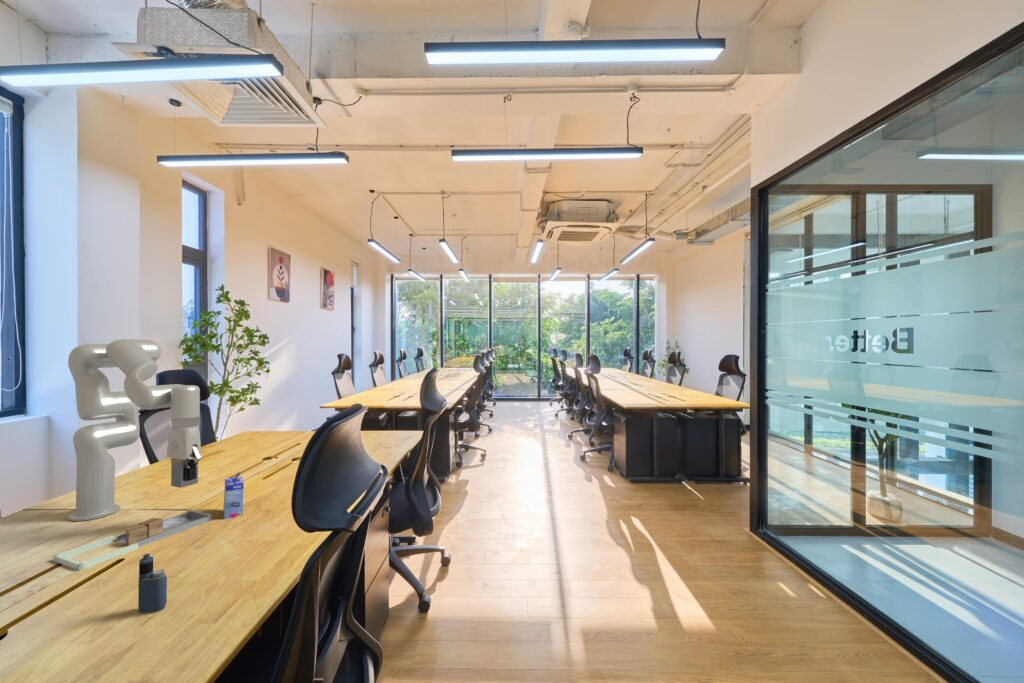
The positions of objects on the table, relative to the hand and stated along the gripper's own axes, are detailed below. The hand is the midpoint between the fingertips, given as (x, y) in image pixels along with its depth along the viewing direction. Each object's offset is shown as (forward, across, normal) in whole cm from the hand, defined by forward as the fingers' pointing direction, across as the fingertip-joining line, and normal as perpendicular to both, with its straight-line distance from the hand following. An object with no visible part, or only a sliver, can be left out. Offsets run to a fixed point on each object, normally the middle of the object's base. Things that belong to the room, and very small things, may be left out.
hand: (184, 478), depth 133 cm
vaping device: (+16, +41, -29) cm, 53 cm away
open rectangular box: (+16, 0, -6) cm, 17 cm away
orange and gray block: (+2, 0, 0) cm, 2 cm away
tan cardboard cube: (+15, -1, -8) cm, 17 cm away
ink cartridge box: (+16, +6, +12) cm, 21 cm away
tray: (+16, 0, -22) cm, 27 cm away
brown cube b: (+15, +1, -13) cm, 20 cm away
